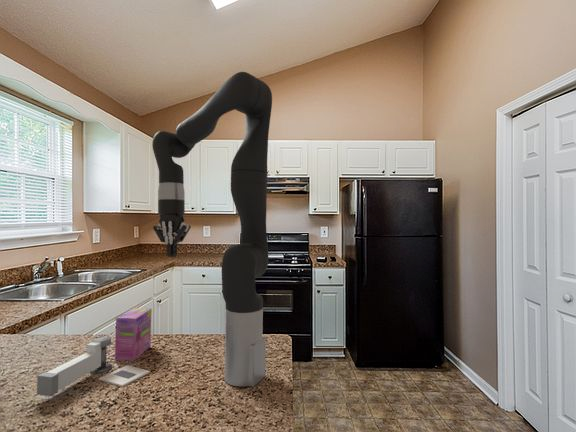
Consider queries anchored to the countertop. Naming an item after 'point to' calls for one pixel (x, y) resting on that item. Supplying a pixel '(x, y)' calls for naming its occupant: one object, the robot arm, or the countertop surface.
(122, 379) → the label tile
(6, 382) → the countertop surface
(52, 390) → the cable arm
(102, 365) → the grey pedestal stand
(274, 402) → the countertop surface
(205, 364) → the countertop surface
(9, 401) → the countertop surface
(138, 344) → the box
